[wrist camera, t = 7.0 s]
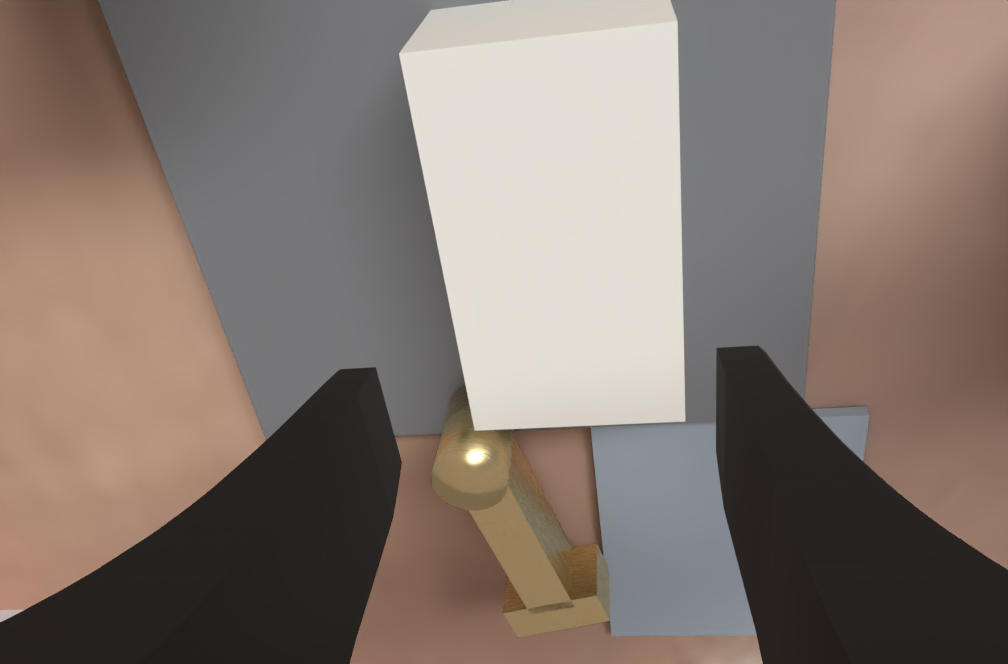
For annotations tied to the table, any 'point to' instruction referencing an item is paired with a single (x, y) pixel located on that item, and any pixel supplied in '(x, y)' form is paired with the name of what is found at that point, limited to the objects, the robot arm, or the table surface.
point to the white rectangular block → (556, 205)
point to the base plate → (403, 197)
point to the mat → (677, 527)
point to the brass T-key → (519, 527)
